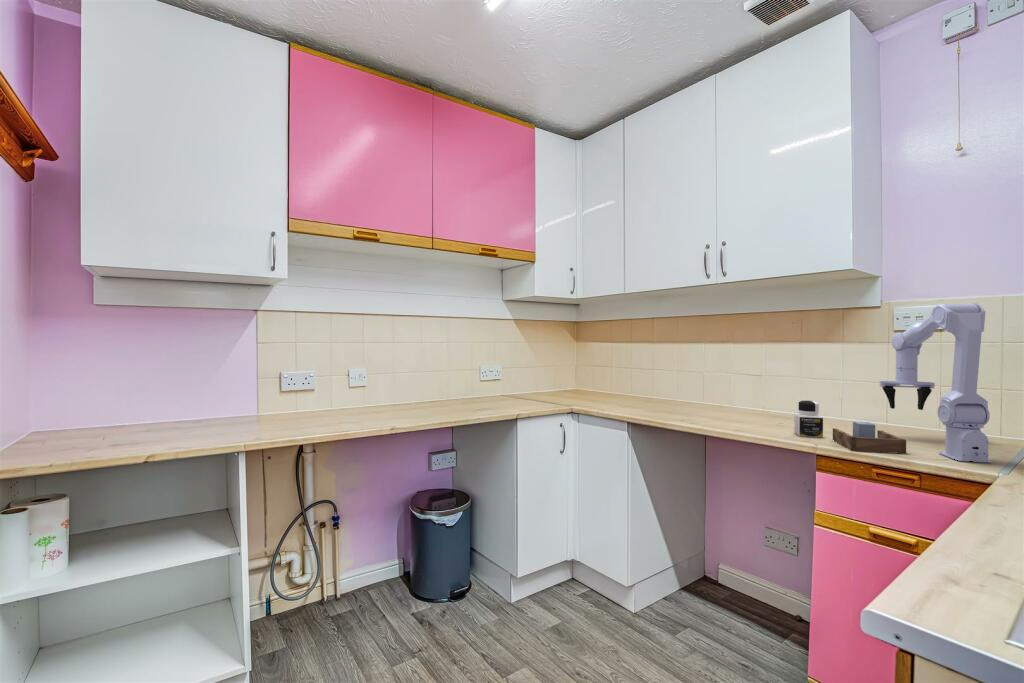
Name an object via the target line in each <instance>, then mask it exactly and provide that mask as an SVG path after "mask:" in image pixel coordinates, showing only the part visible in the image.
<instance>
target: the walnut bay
mask: <svg viewBox="0 0 1024 683" xmlns="http://www.w3.org/2000/svg"><path fill="white" fill-rule="evenodd" d="M876 435H877V437H875V438H865V437H854V436H853V435H851V434H850V433H847V432H845V431H843V430H841V429H838V428H835V427H834V428H832V441H833V440H834V441H833V442H835V443H836V442H837V443H836V444H838V443H839V444H838V445H841V446H842V447H844V448H845V449H847V448H848V450H850V451H852V452H865V451H867V452H868V453H883V452H897V453H896V454H902V453H906V454H907V439H905V438H902V437H899V436H897V435H894V434H892V433H889V432H886V431H884V430H878V429H877V434H876Z"/></svg>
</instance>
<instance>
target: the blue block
mask: <svg viewBox="0 0 1024 683" xmlns="http://www.w3.org/2000/svg"><path fill="white" fill-rule="evenodd" d="M852 436H854V437H865V438H876V424H875V423H872V422H867V421H852Z"/></svg>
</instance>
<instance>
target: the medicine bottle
mask: <svg viewBox="0 0 1024 683" xmlns="http://www.w3.org/2000/svg"><path fill="white" fill-rule="evenodd" d="M819 405H820V404H819V402H817V401H815V400H800V401H799V402H798V410H797V412H795V413H794V427H793V428H794V429H793V430H794V434H795V435H797V436H799V437H800V436H809V437H808V438H817V437H823V438H824V417H823V416H822V415H819V412H820V409H819V408H820V406H819Z"/></svg>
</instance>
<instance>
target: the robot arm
mask: <svg viewBox="0 0 1024 683" xmlns="http://www.w3.org/2000/svg"><path fill="white" fill-rule="evenodd" d="M985 322H986V310H985V309H984V308H983V306H981V305H980V304H978V303H974V302H972V303H937V304H936V306H935V307H933V308H932V310H931V315H930V316H928V318H926V319H925V320H924V321H921V322H917V321H916V322H914V323H913V325H911V326H910V327H909V328H908V329H906V330H905V331H904V332H895V333H894V334H893V336H892V337H891V344H892V348H893V349H894V350H895V380H879V387H881V388H882V390H883V392H884V393H885V396H886V397H887V401H888V403H889V408H890V409H893V410H894V409H895V408H896V403H895V402H896V401H895V400H896V391H897V389H895V388H916V392H917V410H919V411H923V410H924V406H925V404H926V401H927V399H928V397H929V396H930V395H931V393H932V389H935V387H936V386H935V384H936V383H935V382H932V381H918V372H919V371H918V366H919V365H918V362H919V361H918V360H919V359H918V356H919V355H920V353H921V348H922V345H923V343H924V342H925V341H927V340H929V339H930V338H931V337H933V335H934V331H935V330H938V329H939V328H941V329H943V330H944V331H945V332H947V333H951V334H952V335H953V336H954V338H955V340H954V341H955V342H954V352H953V366H952V378H951V391H949V392H947V393H946V394H944V395H943V396H941V397H940V404H939V406H938V408H937V418H938V419H939V421H940V422H941V424H942V425H944V426H945V451H938V452H937V453H938V454H939V455H942V456H945V457H947V458H950V459H952V460H954V459H955V461H957V460H958V461H957V462H969V461H973V463H989V464H990V463H993V460H990V459H989V438H988V436H987V435H986V434H985V433H984V432H982V430H981V429H984V428H985V425H987V424H988V422H989V421H990V418H991V417H990V416H991V415H990V414H991V413H990V410H989V406H988V404H989V402H988V400H987V399H986V398H984V397H983V396H981V395H980V394H978V393H977V391H978V381H979V380H978V378H979V368H980V357H981V356H980V354H981V346H982V345H981V344H982V343H981V342H982V333H983V332H984V331H985Z"/></svg>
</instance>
